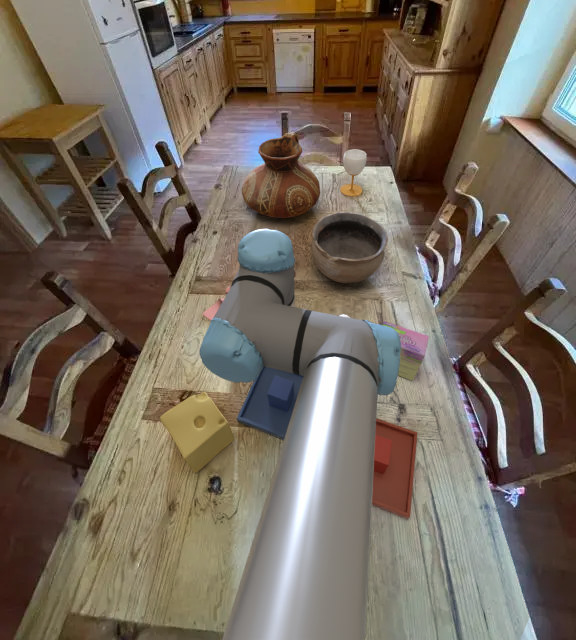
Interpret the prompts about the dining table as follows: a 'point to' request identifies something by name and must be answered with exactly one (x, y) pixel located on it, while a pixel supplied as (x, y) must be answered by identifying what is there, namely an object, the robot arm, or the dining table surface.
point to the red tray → (396, 470)
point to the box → (410, 350)
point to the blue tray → (258, 408)
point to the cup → (353, 170)
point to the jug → (281, 180)
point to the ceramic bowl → (348, 246)
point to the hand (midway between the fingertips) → (278, 376)
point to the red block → (381, 454)
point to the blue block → (281, 393)
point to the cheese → (198, 430)
